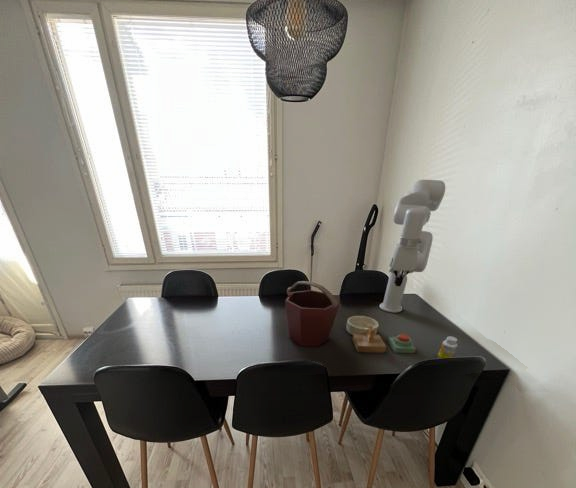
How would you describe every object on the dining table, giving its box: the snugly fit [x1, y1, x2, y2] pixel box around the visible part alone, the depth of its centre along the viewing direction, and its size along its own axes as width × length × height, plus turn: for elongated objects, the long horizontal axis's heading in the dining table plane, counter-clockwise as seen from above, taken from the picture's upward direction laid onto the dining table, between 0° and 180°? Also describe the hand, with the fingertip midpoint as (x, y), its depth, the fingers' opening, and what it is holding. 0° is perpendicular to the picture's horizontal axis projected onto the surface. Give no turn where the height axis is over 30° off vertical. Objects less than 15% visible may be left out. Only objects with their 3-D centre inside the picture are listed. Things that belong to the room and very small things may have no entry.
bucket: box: [284, 280, 340, 347], centre depth 129 cm, size 24×22×25 cm
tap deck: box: [352, 334, 387, 354], centre depth 131 cm, size 13×12×3 cm
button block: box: [387, 334, 417, 354], centre depth 131 cm, size 10×9×4 cm
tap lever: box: [365, 324, 375, 342], centre depth 130 cm, size 8×2×5 cm, turn 1°
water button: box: [398, 333, 410, 342], centre depth 129 cm, size 4×4×2 cm
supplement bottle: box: [436, 336, 458, 359], centre depth 121 cm, size 6×6×10 cm
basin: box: [345, 315, 379, 336], centre depth 141 cm, size 15×15×5 cm
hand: (397, 285), depth 132 cm, fingers closed
